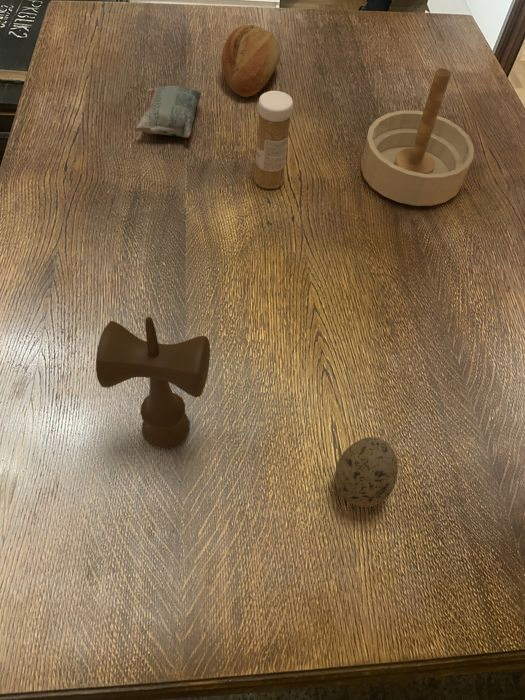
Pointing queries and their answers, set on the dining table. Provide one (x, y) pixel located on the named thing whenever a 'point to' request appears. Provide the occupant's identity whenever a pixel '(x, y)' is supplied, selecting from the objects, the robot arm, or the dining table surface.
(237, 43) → the bread roll
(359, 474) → the decorative egg
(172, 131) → the packaged food
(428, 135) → the wooden peg stand
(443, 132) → the bowl
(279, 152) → the sprinkles bottle
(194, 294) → the dining table surface
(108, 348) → the kendama
